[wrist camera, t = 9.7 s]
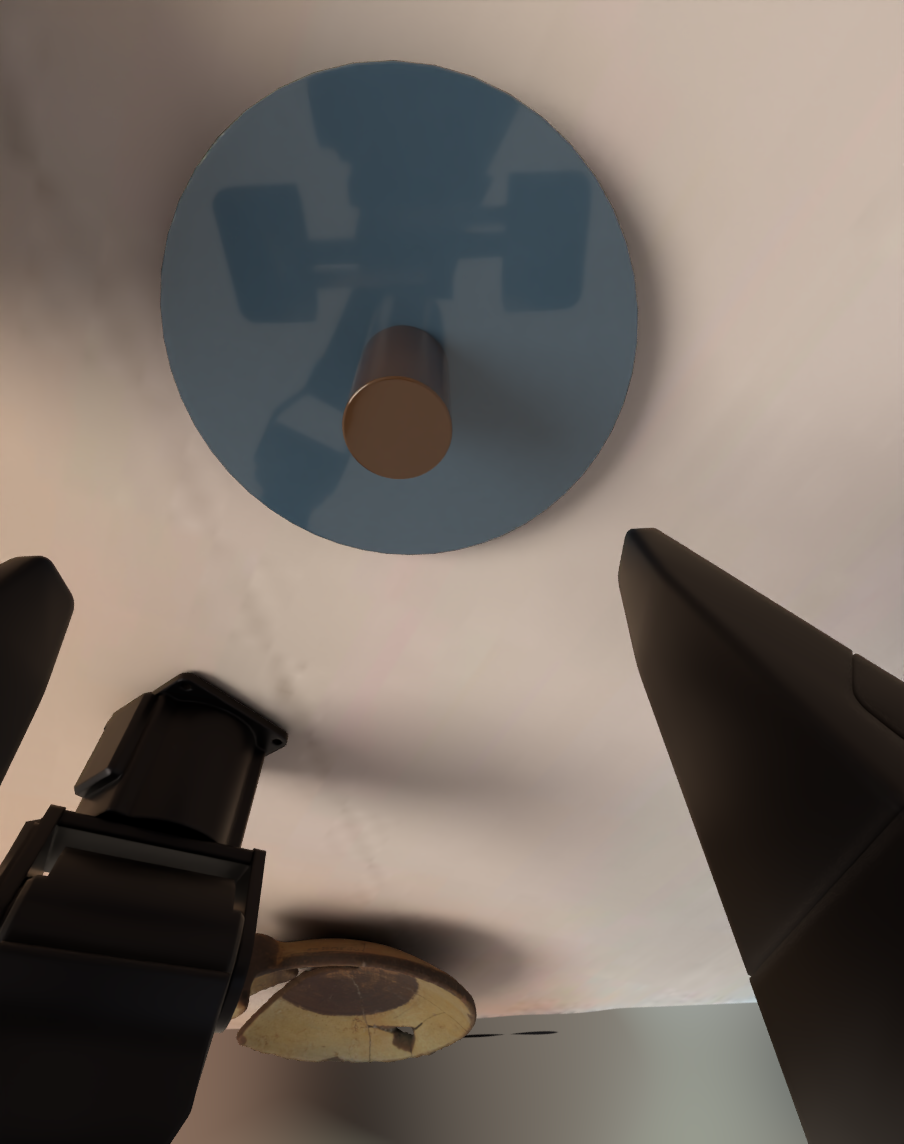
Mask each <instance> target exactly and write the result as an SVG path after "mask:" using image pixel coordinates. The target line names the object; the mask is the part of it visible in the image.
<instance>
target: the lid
mask: <svg viewBox="0 0 904 1144" xmlns="http://www.w3.org/2000/svg"><path fill="white" fill-rule="evenodd" d="M160 307H161V317H162V327H163V337H164V342H165V346H166V350H167V355H168V359H169V364H170V368H171V371H172V374H173V377H174V380H175V382H176V385H177V388H178V391H179V393H180V396H181V399H182V401H183V403H184V405H185V407H186V409H187V411H188V413H189V415H190V417H191V419H192V421H193V423H194V425H195V427H196V428H197V430H198V431H199V433H200V434H201V436H202V438H203V439H204V441H205V442H206V444H207V445H208V447H209V448H210V450H211V451H212V452H213V454H214V455H215V456H216V457H217V459H218V460H219V461H220V462H221V463H222V465H223V466H224V467H225V468H226V470H227V471H228V472H229V473H230V474H231V475H232V476H233V477H234V478H235V479H236V480H237V481H238V482H239V483H240V484H241V485H242V486H243V487H244V488H245V489H246V490H247V491H248V492H249V493H250V494H252V495H253V496H254V497H255V498H257V499H258V500H259V501H260V502H262V503H263V504H264V505H266V506H267V507H268V508H269V509H271V510H272V511H274V512H275V513H277V514H279V515H280V516H282V517H283V518H285V519H286V520H288V521H290V522H291V523H293V524H295V525H297V526H299V527H301V528H303V529H305V530H307V531H309V532H311V533H313V534H315V535H317V536H320V537H323V538H325V539H328V540H330V541H333V542H336V543H338V544H342V545H346V546H350V547H353V548H357V549H361V550H366V551H373V552H379V553H385V554H402V555H420V554H436V553H442V552H449V551H455V550H460V549H464V548H467V547H471V546H475V545H479V544H482V543H485V542H487V541H490V540H492V539H495V538H497V537H500V536H503V535H505V534H507V533H509V532H511V531H512V530H514V529H516V528H518V527H520V526H522V525H524V524H526V523H527V522H529V521H530V520H532V519H533V518H535V517H536V516H538V515H539V514H541V513H542V512H544V511H545V510H547V509H548V508H549V507H550V506H551V505H552V504H554V503H555V502H556V501H557V500H558V499H560V498H561V497H562V496H563V495H564V494H565V493H566V492H567V491H568V490H569V489H570V488H571V487H572V486H573V485H574V484H575V483H576V482H577V481H578V480H579V478H580V477H581V476H582V475H583V474H584V473H585V471H586V470H587V469H588V467H589V466H590V465H591V463H592V462H593V461H594V459H595V458H596V457H597V455H598V454H599V452H600V451H601V449H602V447H603V445H604V444H605V442H606V440H607V438H608V437H609V435H610V433H611V431H612V430H613V428H614V425H615V423H616V420H617V418H618V416H619V413H620V411H621V409H622V406H623V404H624V401H625V398H626V394H627V391H628V387H629V384H630V380H631V377H632V373H633V367H634V360H635V354H636V347H637V333H638V304H637V294H636V284H635V276H634V272H633V267H632V263H631V259H630V255H629V250H628V246H627V242H626V240H625V237H624V234H623V232H622V229H621V227H620V224H619V222H618V219H617V216H616V214H615V211H614V209H613V207H612V205H611V203H610V201H609V200H608V198H607V196H606V194H605V192H604V191H603V189H602V187H601V185H600V183H599V182H598V180H597V178H596V176H595V175H594V174H593V172H592V171H591V170H590V168H589V167H588V166H587V164H586V163H585V162H584V160H583V159H582V158H581V157H580V155H579V154H578V153H577V151H576V150H575V149H574V147H573V146H572V145H571V144H570V143H569V142H568V141H567V140H566V139H565V138H564V137H563V136H562V135H561V134H560V133H559V132H558V131H557V130H556V129H555V128H554V127H553V126H552V125H550V124H549V123H548V122H547V121H546V120H545V119H544V118H543V117H542V116H540V115H539V114H538V113H536V112H535V111H533V110H532V109H531V108H529V107H528V106H526V105H525V104H523V103H522V102H521V101H519V100H518V99H516V98H515V97H513V96H512V95H511V94H509V93H507V92H505V91H503V90H501V89H499V88H496V87H494V86H492V85H490V84H488V83H486V82H484V81H482V80H480V79H478V78H476V77H474V76H471V75H467V74H464V73H460V72H457V71H454V70H450V69H447V68H443V67H440V66H437V65H432V64H423V63H414V62H405V61H397V60H388V61H372V62H356V63H350V64H346V65H342V66H338V67H333V68H329V69H325V70H321V71H317V72H314V73H311V74H309V75H307V76H305V77H302V78H300V79H298V80H296V81H293V82H291V83H289V84H287V85H284V86H282V87H280V88H278V89H276V90H275V91H273V92H272V93H270V94H269V95H267V96H266V97H265V98H263V99H262V100H260V101H259V102H257V103H256V104H254V105H253V106H251V107H250V108H248V109H247V110H245V111H244V112H243V113H242V114H241V115H240V116H239V117H238V118H237V119H236V120H235V121H234V122H233V123H232V124H231V125H230V126H229V127H228V128H227V129H226V130H225V131H224V132H223V133H222V134H221V135H220V136H219V137H218V138H217V139H216V141H215V142H214V143H213V145H212V146H211V147H210V149H209V150H208V151H207V153H206V154H205V155H204V157H203V158H202V160H201V161H200V162H199V164H198V165H197V166H196V168H195V170H194V172H193V174H192V176H191V178H190V180H189V182H188V183H187V185H186V187H185V189H184V191H183V193H182V195H181V197H180V199H179V201H178V204H177V207H176V210H175V214H174V217H173V220H172V223H171V226H170V229H169V232H168V235H167V240H166V246H165V252H164V257H163V263H162V269H161V296H160Z"/></svg>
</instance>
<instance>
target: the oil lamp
mask: <svg viewBox="0 0 904 1144" xmlns="http://www.w3.org/2000/svg"><path fill="white" fill-rule="evenodd" d="M320 966H321V967H324V966H328V967H325V968H318V969H313V970H312V971H305V972H303V973H302V974H300V975H299V976H298V977H296V976H297V974H298V968H306V967H320ZM331 966H333V967H331ZM334 966H337V967H334ZM338 966H346V967H338ZM347 966H348V967H347ZM352 966H355V967H352ZM295 977H296V978H295ZM289 980H291V981H290V982H288V983H287V984H286V985H285V986H284V988H282V989H281V990H279V991H278V992H276V993H275V994H274V995H273V996H272V997H271V998H269V1000H268V1001H267V1002H266V1003H265V1004H263V1006H262V1007H261V1008H260V1009H258V1011H257V1012H256V1013H255V1014H253V1015H252V1016H251V1018H250V1019H249V1020H248V1021H246V1023H245V1024H244V1025H243V1026H242V1027H241V1029H240V1030H239V1032H238V1033H237V1040H238V1043H239V1045H242V1046H246V1047H250V1048H251V1049H253V1050H254V1051H259V1052H261V1053H265V1054H274V1055H276V1056H280V1057H283V1058H285V1059H294V1060H297V1061H310V1062H322V1061H324V1062H325V1061H341V1062H344V1061H350V1062H351V1063H354V1062H356V1063H360V1062H369V1063H371V1062H372V1061H380V1062H395V1061H397V1060H403V1059H406V1058H409V1057H412V1058H414V1057H416V1058H418V1057H420V1056H422V1055H431V1054H433V1053H435V1052H436V1051H437V1050H439V1049H442V1048H444V1047H447V1046H449V1045H451V1044H453V1043H455V1042H456V1041H458V1040H460V1039H462V1038H463V1037H464V1036H465V1035H467V1034H468V1033H469V1032H470V1030H471V1029H472V1027H473V1026H474V1024H475V1021H476V1007H475V1003H474V1000H473V998H472V996H471V995H470V994H469V993H468V991H467V990H465V989H464V987H463V986H462V985H461V984H459V983H458V982H457V981H456V980H455V979H454V978H453V977H451V976H450V975H448V974H447V973H445V972H444V971H442V970H440V969H438V968H436V967H434V966H433V965H431V964H429V963H427V962H425V961H423V960H421V959H419V958H417V957H415V956H413V955H410V954H408V953H405V952H403V951H400V950H398V949H395V948H392V947H389V946H386V945H382V944H378V943H372V942H367V941H361V940H353V939H342V938H328V939H311V940H301V941H294V942H280V941H277V940H275V939H273V938H272V937H269V936H267V935H264V934H259V933H255V940H254V946H253V952H252V957H251V961H250V965H249V969H248V973H247V977H246V980H245V983H244V987H243V990H242V993H241V996H240V999H239V1001H238V1004H237V1007H236V1009H235V1012H234V1014H233V1016H232V1018H231V1019H234V1018H236V1017H238V1016H240V1015H241V1014H242V1013H243V1012H245V1010H246V1009H247V1007H248V1003H249V997H250V996H251V995H253V994H256V993H257V992H259V991H260V990H266V989H267V988H269V987H273V986H275V985H277V984H279V983H283V982H287V981H289ZM404 1026H405V1027H407V1026H408V1027H411V1028H412V1029H413V1032H414V1035H411V1034H408V1033H407V1032H402V1031H401V1030H399V1029H398V1028H397V1027H404Z"/></svg>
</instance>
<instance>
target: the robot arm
mask: <svg viewBox="0 0 904 1144" xmlns="http://www.w3.org/2000/svg"><path fill="white" fill-rule="evenodd" d="M618 581H619V588H620V592H621V597H622V601H623V606H624V610H625V615H626V619H627V624H628V628H629V633H630V637H631V642H632V646H633V651H634V655H635V659H636V663H637V667H638V670H639V673H640V676H641V679H642V682H643V685H644V688H645V690H646V693H647V696H648V699H649V701H650V704H651V707H652V710H653V712H654V715H655V718H656V721H657V724H658V726H659V729H660V732H661V735H662V737H663V740H664V743H665V746H666V749H667V751H668V754H669V757H670V760H671V762H672V765H673V768H674V771H675V774H676V776H677V779H678V782H679V785H680V787H681V790H682V793H683V796H684V799H685V801H686V804H687V807H688V810H689V812H690V815H691V818H692V821H693V824H694V826H695V829H696V832H697V835H698V837H699V840H700V843H701V846H702V849H703V851H704V854H705V857H706V860H707V862H708V865H709V868H710V871H711V874H712V876H713V879H714V882H715V885H716V887H717V890H718V893H719V896H720V899H721V901H722V904H723V907H724V910H725V912H726V915H727V918H728V921H729V924H730V926H731V929H732V932H733V935H734V937H735V940H736V943H737V946H738V948H739V951H740V954H741V957H742V960H743V962H744V965H745V968H746V971H747V973H748V975H750V976H751V977H750V983H751V986H752V988H753V991H754V994H755V997H756V1000H757V1002H758V1005H759V1008H760V1011H761V1013H762V1016H763V1019H764V1022H765V1024H766V1027H767V1030H768V1033H769V1036H770V1038H771V1041H772V1044H773V1047H774V1049H775V1052H776V1055H777V1058H778V1061H779V1063H780V1066H781V1069H782V1072H783V1074H784V1077H785V1080H786V1083H787V1086H788V1088H789V1091H790V1094H791V1096H792V1099H793V1102H794V1105H795V1108H796V1111H797V1113H798V1116H799V1119H800V1122H801V1125H802V1127H803V1130H804V1133H805V1136H806V1138H807V1141H808V1144H904V682H903V681H901V680H900V679H898V678H896V677H895V676H893V675H891V674H890V673H888V672H886V671H885V670H883V669H881V668H880V667H878V666H877V665H875V664H873V663H872V662H870V661H869V660H867V659H865V658H864V657H862V656H861V655H859V654H854V655H853V653H852V650H851V649H849V648H847V647H846V646H844V645H843V644H841V643H839V642H838V641H836V640H835V639H833V638H831V637H830V636H828V635H826V634H825V633H823V632H822V631H820V630H818V629H817V628H815V627H814V626H812V625H810V624H809V623H807V622H806V621H804V620H802V619H801V618H799V617H798V616H796V615H794V614H793V613H791V612H790V611H788V610H786V609H785V608H783V607H782V606H780V605H778V604H777V603H775V602H773V601H772V600H770V599H769V598H767V597H765V596H764V595H762V594H761V593H759V592H757V591H756V590H754V589H753V588H751V587H749V586H748V585H746V584H745V583H743V582H741V581H740V580H738V579H737V578H735V577H733V576H732V575H730V574H729V573H727V572H725V571H724V570H722V569H720V568H719V567H717V566H716V565H714V564H712V563H711V562H709V561H708V560H706V559H704V558H703V557H701V556H700V555H698V554H696V553H695V552H693V551H692V550H690V549H688V548H687V547H685V546H684V545H682V544H680V543H679V542H677V541H676V540H674V539H672V538H671V537H669V536H667V535H666V534H664V533H663V532H661V531H659V530H658V529H656V528H639V529H630V530H629V531H628V532H627V534H626V536H625V540H624V545H623V550H622V555H621V560H620V566H619V571H618ZM73 610H74V599H73V596H72V594H71V592H70V590H69V589H68V587H67V585H66V584H65V582H64V581H63V579H62V577H61V576H60V574H59V572H58V571H57V569H56V568H55V566H54V564H53V563H52V562H51V561H50V560H49V559H48V558H46V557H43V556H24V557H15V558H12V559H10V560H8V561H6V562H4V563H2V564H0V785H1V783H2V781H3V779H4V777H5V775H6V773H7V771H8V769H9V766H10V764H11V762H12V760H13V758H14V756H15V754H16V752H17V750H18V748H19V746H20V744H21V741H22V739H23V737H24V735H25V733H26V731H27V729H28V727H29V725H30V723H31V721H32V719H33V716H34V714H35V712H36V710H37V708H38V706H39V704H40V701H41V699H42V697H43V695H44V692H45V690H46V687H47V684H48V682H49V679H50V676H51V673H52V671H53V668H54V665H55V662H56V659H57V656H58V653H59V651H60V648H61V645H62V642H63V639H64V636H65V633H66V631H67V628H68V625H69V622H70V619H71V616H72V613H73ZM287 740H288V734H287V733H286V732H285V731H284V730H282V729H280V728H279V727H277V726H276V725H274V724H272V723H271V722H269V721H268V720H266V719H265V718H263V717H261V716H260V715H258V714H257V713H255V712H253V711H252V710H250V709H249V708H247V707H245V706H244V705H242V704H241V703H239V702H237V701H236V700H234V699H233V698H231V697H229V696H228V695H226V694H225V693H223V692H222V691H220V690H218V689H217V688H215V687H214V686H212V685H210V684H209V683H207V682H206V681H204V680H202V679H201V678H199V677H198V676H196V675H194V674H192V673H181V674H179V675H178V676H176V677H175V678H173V679H171V680H170V681H168V682H167V683H165V684H164V685H162V686H161V687H159V688H158V689H156V690H155V691H153V692H148V693H144V694H142V695H141V696H139V697H138V698H136V699H135V700H133V701H132V702H130V703H128V704H127V705H125V706H124V707H122V708H121V709H119V710H118V711H116V712H115V713H114V714H113V715H112V717H111V719H110V720H109V721H108V722H107V724H106V726H105V728H104V732H103V734H102V736H101V738H100V740H99V742H98V743H97V745H96V747H95V749H94V751H93V753H92V755H91V756H90V758H89V760H88V762H87V764H86V766H85V768H84V769H83V771H82V773H81V775H80V777H79V779H78V781H77V782H76V784H75V786H74V790H75V794H76V795H78V796H80V797H82V800H81V802H80V804H79V806H78V808H77V810H76V812H72V811H68V810H65V809H66V807H61V806H57V805H52V804H51V805H50V807H49V808H48V810H47V812H46V813H45V815H44V816H43V818H41V819H39V820H33V821H27V822H26V823H25V825H24V826H23V828H22V830H21V832H20V833H19V835H18V837H17V838H16V840H15V842H14V844H13V845H12V847H11V849H10V850H9V852H8V854H7V855H6V857H5V859H4V860H3V862H2V863H1V865H0V1144H170V1143H171V1142H172V1140H173V1139H174V1137H175V1136H176V1134H177V1133H178V1131H179V1130H180V1128H181V1127H182V1125H183V1124H184V1122H185V1120H186V1119H187V1118H188V1116H189V1114H190V1112H191V1109H192V1105H193V1102H194V1098H195V1094H196V1090H197V1087H198V1083H199V1080H200V1077H201V1074H202V1070H203V1067H204V1063H205V1060H206V1057H207V1054H208V1051H209V1047H210V1044H211V1041H212V1038H213V1034H214V1033H221V1032H223V1031H224V1030H225V1029H226V1027H227V1026H228V1024H229V1022H230V1020H231V1018H232V1016H233V1014H234V1012H235V1009H236V1007H237V1004H238V1001H239V999H240V996H241V993H242V990H243V987H244V983H245V980H246V977H247V973H248V969H249V965H250V961H251V957H252V952H253V946H254V940H255V933H256V926H257V918H258V910H259V903H260V895H261V887H262V880H263V872H264V864H265V856H266V851H264V850H259V849H255V848H254V849H253V850H249V849H244V848H241V845H242V841H243V837H244V833H245V829H246V826H247V822H248V818H249V814H250V811H251V807H252V803H253V799H254V795H255V792H256V788H257V784H258V780H259V777H260V773H261V769H262V765H263V761H264V758H265V756H267V755H269V754H271V753H273V752H275V751H276V750H278V749H280V748H282V747H284V746H285V745H286V744H287ZM44 872H49V875H48V876H43V873H44Z"/></svg>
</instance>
